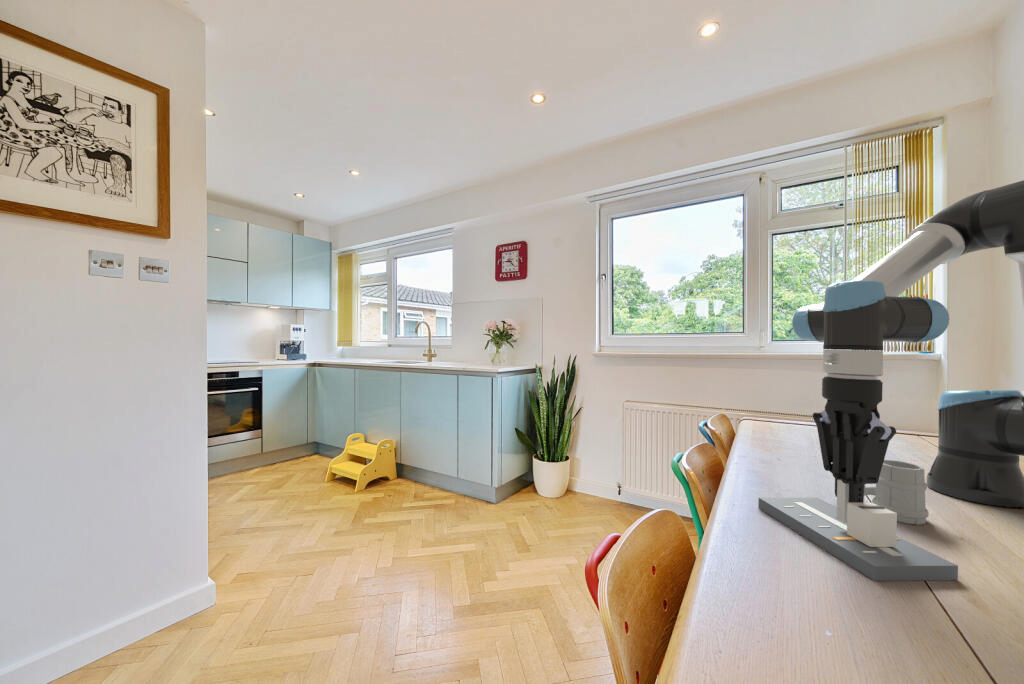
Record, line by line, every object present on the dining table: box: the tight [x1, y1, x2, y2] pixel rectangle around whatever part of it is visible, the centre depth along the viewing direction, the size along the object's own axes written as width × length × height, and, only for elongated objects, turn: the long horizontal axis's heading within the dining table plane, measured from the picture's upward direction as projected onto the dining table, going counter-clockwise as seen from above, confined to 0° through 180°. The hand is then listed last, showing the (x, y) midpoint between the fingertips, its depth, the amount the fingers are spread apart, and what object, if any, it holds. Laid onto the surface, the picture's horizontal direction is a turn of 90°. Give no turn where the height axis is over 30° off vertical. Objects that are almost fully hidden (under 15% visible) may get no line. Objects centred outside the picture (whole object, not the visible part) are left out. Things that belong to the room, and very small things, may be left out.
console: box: [757, 497, 959, 582], centre depth 67 cm, size 12×24×2 cm, turn 3°
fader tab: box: [847, 502, 898, 547], centre depth 62 cm, size 4×4×5 cm
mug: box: [856, 459, 930, 525], centre depth 78 cm, size 8×12×12 cm, turn 28°
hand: (848, 520), depth 65 cm, fingers closed
